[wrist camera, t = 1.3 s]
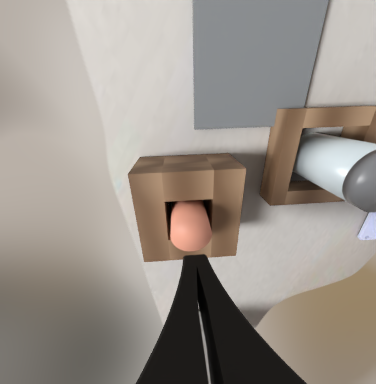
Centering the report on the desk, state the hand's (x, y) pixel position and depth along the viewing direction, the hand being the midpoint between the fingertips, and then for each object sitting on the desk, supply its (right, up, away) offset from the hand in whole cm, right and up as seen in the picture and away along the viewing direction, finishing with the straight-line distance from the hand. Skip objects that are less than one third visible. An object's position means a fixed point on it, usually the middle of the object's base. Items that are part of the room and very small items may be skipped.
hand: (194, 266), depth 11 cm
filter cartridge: (+12, +9, +8) cm, 17 cm away
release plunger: (0, +3, +7) cm, 8 cm away
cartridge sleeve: (+12, +9, +8) cm, 17 cm away
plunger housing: (-1, +4, +9) cm, 10 cm away
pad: (+5, +15, +4) cm, 17 cm away
